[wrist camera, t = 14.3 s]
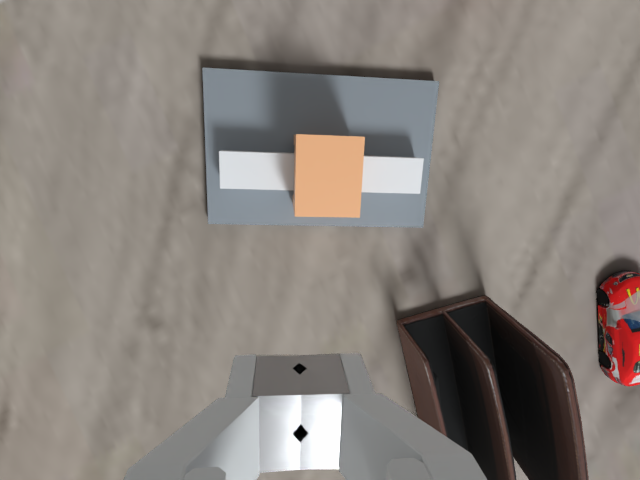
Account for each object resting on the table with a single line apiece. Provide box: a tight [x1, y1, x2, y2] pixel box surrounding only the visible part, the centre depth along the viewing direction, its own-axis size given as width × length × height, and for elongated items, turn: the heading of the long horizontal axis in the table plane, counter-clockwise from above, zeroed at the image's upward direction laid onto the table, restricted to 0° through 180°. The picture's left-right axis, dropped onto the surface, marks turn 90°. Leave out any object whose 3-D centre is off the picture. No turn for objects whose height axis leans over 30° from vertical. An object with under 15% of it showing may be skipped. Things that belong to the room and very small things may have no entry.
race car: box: [596, 271, 640, 386], centre depth 41 cm, size 13×5×4 cm, turn 12°
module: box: [293, 134, 365, 218], centre depth 31 cm, size 5×6×6 cm
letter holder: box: [397, 296, 589, 480], centre depth 36 cm, size 10×20×14 cm, turn 14°
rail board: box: [202, 68, 439, 227], centre depth 33 cm, size 20×13×3 cm, turn 88°
